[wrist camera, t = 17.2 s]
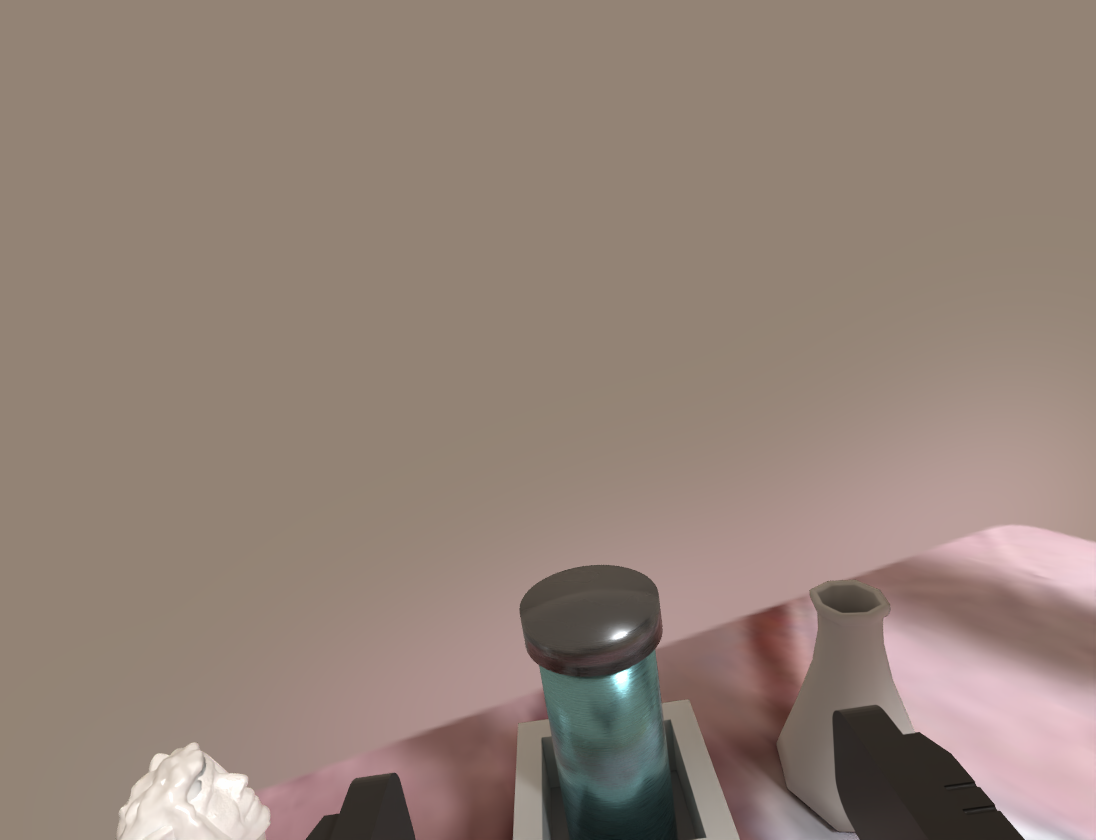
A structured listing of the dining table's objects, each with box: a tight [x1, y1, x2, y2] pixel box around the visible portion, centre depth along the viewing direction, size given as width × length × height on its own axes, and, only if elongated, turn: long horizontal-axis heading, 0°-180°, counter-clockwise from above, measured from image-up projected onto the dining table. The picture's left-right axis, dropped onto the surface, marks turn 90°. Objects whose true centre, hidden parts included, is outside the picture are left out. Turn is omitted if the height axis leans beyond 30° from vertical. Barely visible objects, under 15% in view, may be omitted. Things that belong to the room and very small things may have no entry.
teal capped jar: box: [520, 565, 678, 840], centre depth 25 cm, size 6×6×12 cm
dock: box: [513, 699, 740, 840], centre depth 27 cm, size 10×10×4 cm
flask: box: [776, 580, 915, 832], centre depth 29 cm, size 7×7×10 cm
